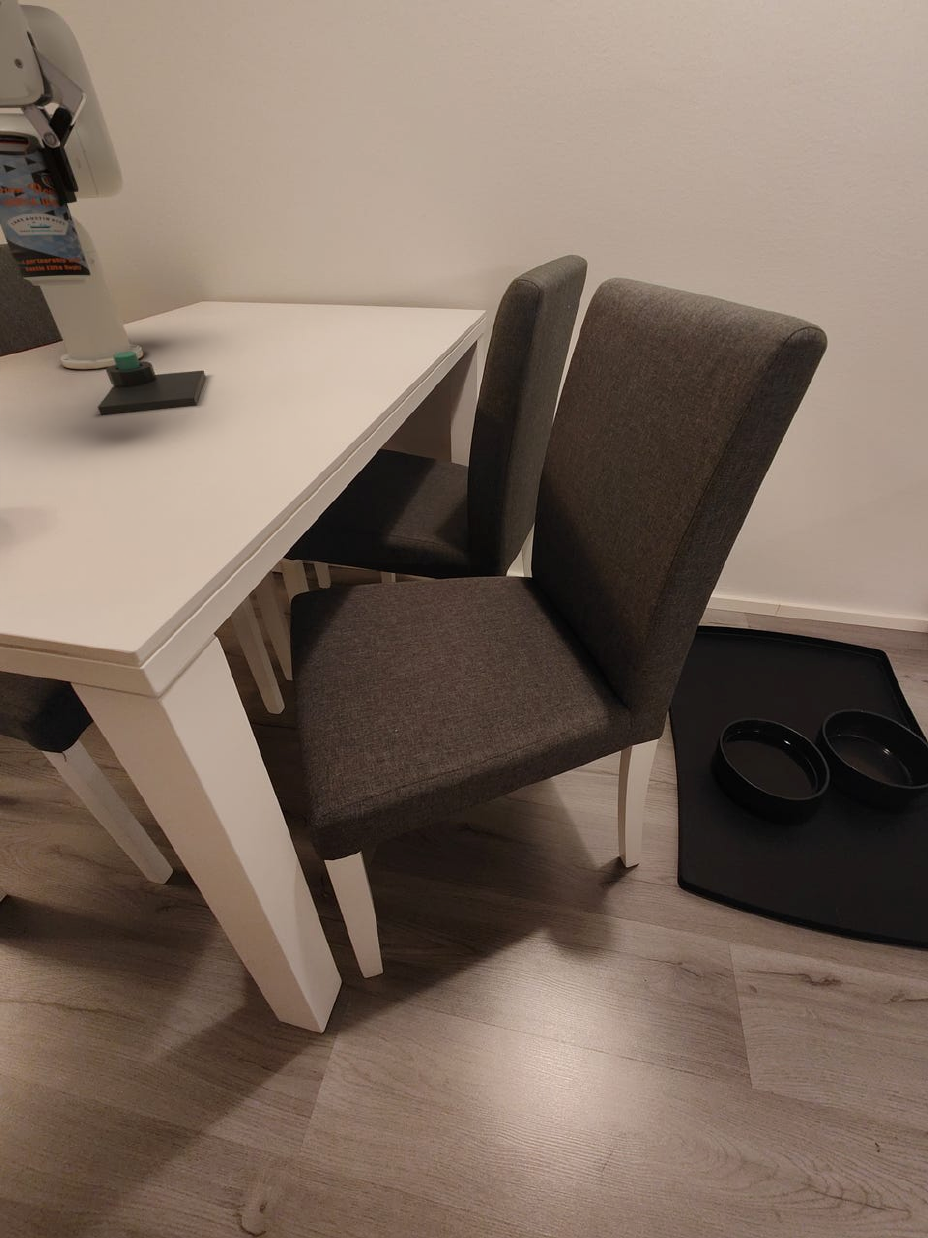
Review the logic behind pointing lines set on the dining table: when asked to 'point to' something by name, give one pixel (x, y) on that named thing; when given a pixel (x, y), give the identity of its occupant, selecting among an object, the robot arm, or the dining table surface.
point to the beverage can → (36, 216)
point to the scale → (150, 389)
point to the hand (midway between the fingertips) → (29, 201)
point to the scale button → (126, 360)
